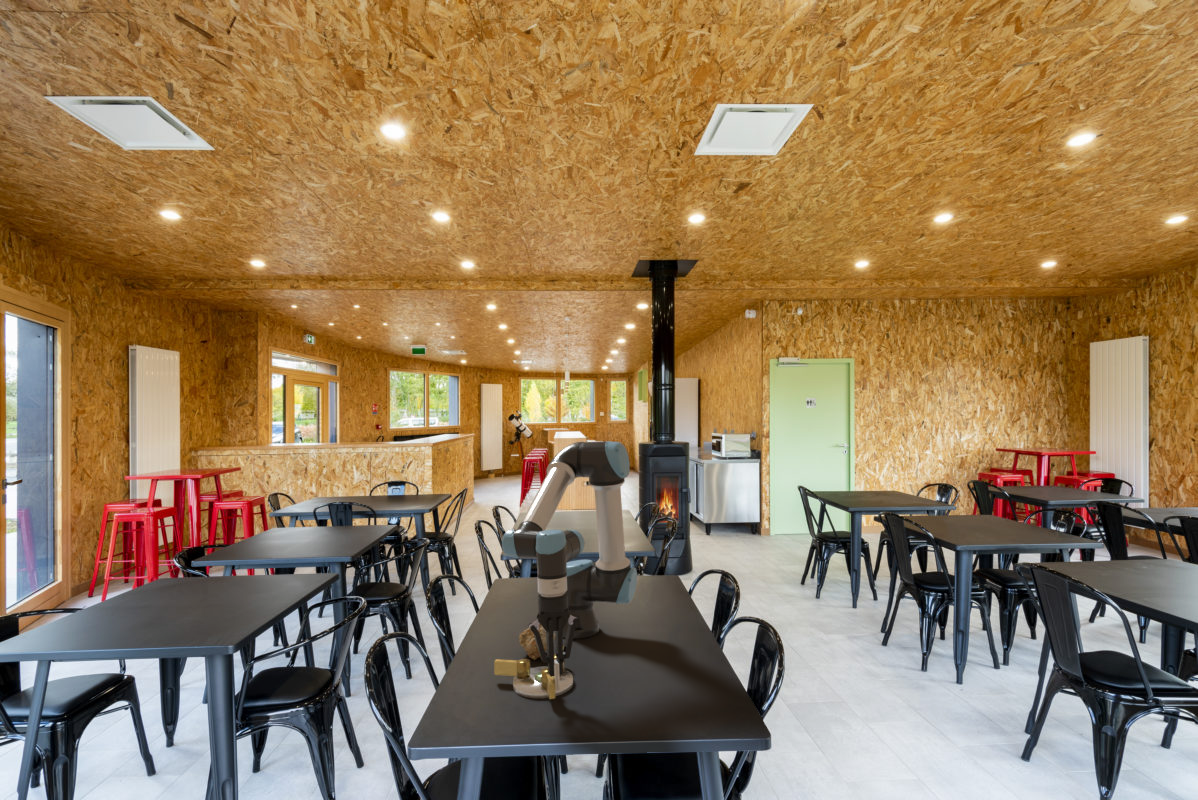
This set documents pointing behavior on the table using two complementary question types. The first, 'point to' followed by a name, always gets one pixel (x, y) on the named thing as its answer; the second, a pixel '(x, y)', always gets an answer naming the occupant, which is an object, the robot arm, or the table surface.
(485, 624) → the table surface
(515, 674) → the knob
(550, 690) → the knob
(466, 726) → the table surface
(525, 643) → the rock
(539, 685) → the tribrach plate
